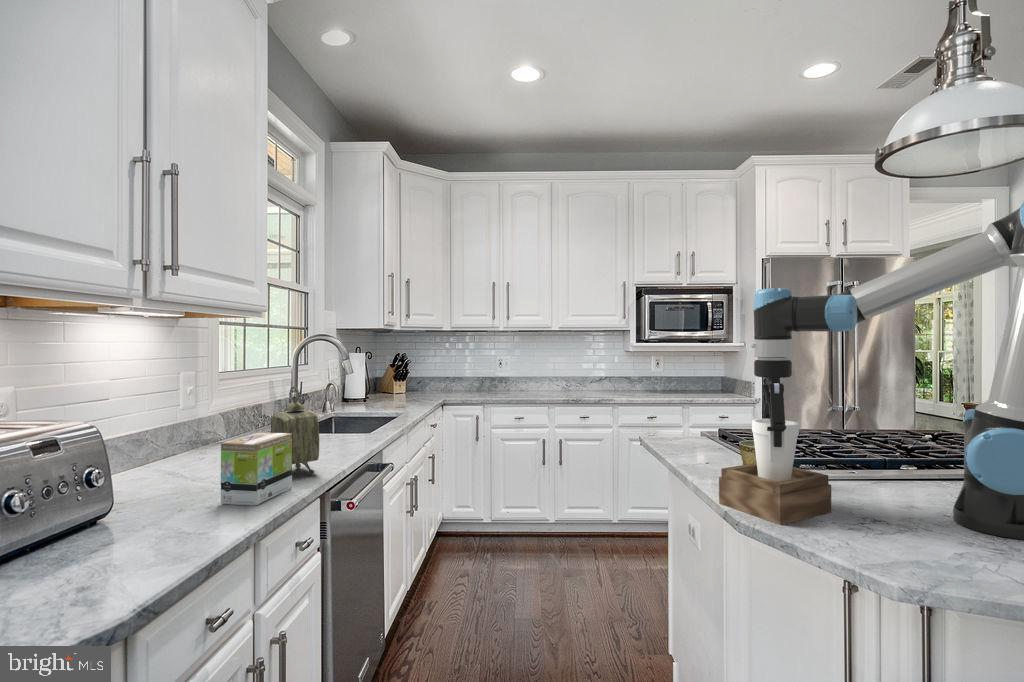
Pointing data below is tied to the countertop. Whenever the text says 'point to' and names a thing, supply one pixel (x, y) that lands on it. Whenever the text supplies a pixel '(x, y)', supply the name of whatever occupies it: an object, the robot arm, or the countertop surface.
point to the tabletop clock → (299, 431)
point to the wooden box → (775, 494)
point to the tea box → (255, 468)
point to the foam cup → (762, 450)
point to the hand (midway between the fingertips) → (773, 455)
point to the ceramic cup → (747, 451)
